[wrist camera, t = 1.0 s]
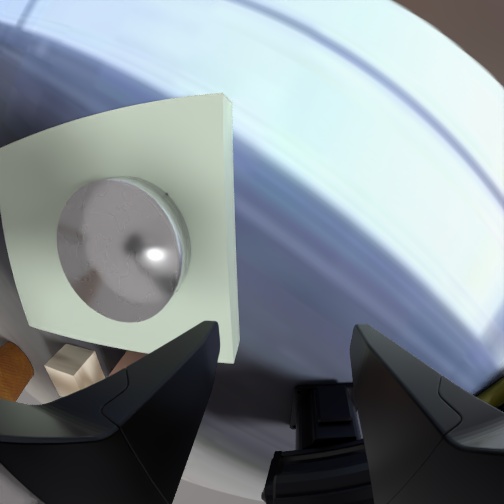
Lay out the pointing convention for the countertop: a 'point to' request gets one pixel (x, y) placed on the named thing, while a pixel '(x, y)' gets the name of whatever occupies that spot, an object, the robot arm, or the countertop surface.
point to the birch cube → (73, 369)
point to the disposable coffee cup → (13, 372)
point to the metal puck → (123, 247)
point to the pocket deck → (135, 165)
